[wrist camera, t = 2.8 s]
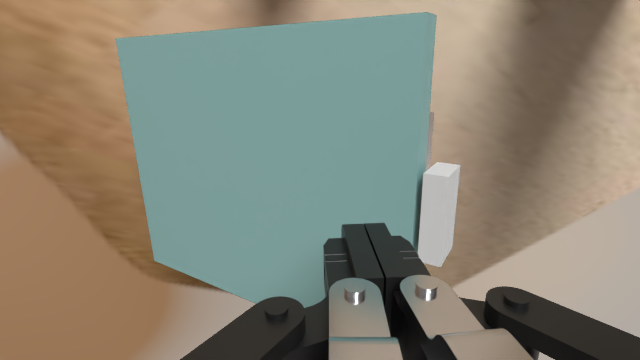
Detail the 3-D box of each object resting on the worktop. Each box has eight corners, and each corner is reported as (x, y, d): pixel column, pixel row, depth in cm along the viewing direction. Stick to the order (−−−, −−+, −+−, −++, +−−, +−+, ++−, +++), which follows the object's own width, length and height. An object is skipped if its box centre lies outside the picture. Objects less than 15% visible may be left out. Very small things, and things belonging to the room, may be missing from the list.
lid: (475, 14, 14) (464, 8, 13) (441, 351, 19) (430, 379, 17) (142, 39, 25) (114, 38, 24) (175, 250, 30) (153, 261, 28)
